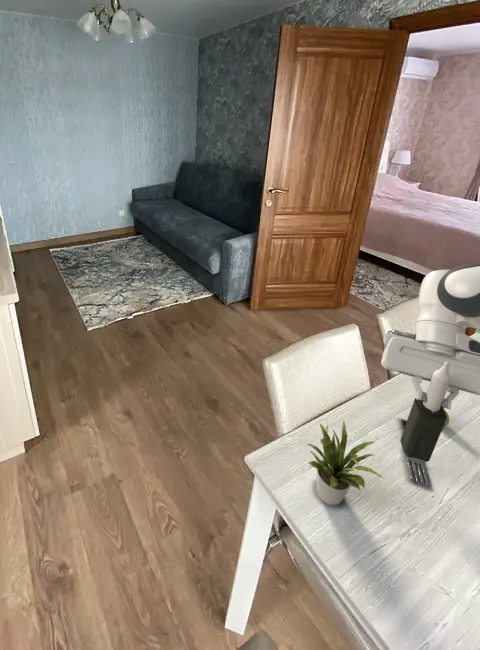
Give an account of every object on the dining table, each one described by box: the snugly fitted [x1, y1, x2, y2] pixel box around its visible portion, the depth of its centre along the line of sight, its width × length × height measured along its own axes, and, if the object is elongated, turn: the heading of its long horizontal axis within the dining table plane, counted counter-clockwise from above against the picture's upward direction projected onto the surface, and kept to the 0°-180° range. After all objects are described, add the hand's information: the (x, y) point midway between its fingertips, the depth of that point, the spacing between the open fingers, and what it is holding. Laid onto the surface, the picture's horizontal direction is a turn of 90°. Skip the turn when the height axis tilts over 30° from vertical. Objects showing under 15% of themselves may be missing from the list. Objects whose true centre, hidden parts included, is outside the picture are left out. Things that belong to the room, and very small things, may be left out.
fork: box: [400, 419, 430, 487], centre depth 86 cm, size 4×18×1 cm, turn 158°
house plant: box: [306, 420, 385, 506], centre depth 73 cm, size 14×14×16 cm
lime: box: [443, 409, 450, 428], centre depth 93 cm, size 4×5×5 cm
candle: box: [399, 362, 451, 463], centre depth 74 cm, size 5×5×25 cm
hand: (433, 404), depth 72 cm, fingers closed on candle, 3 cm apart
